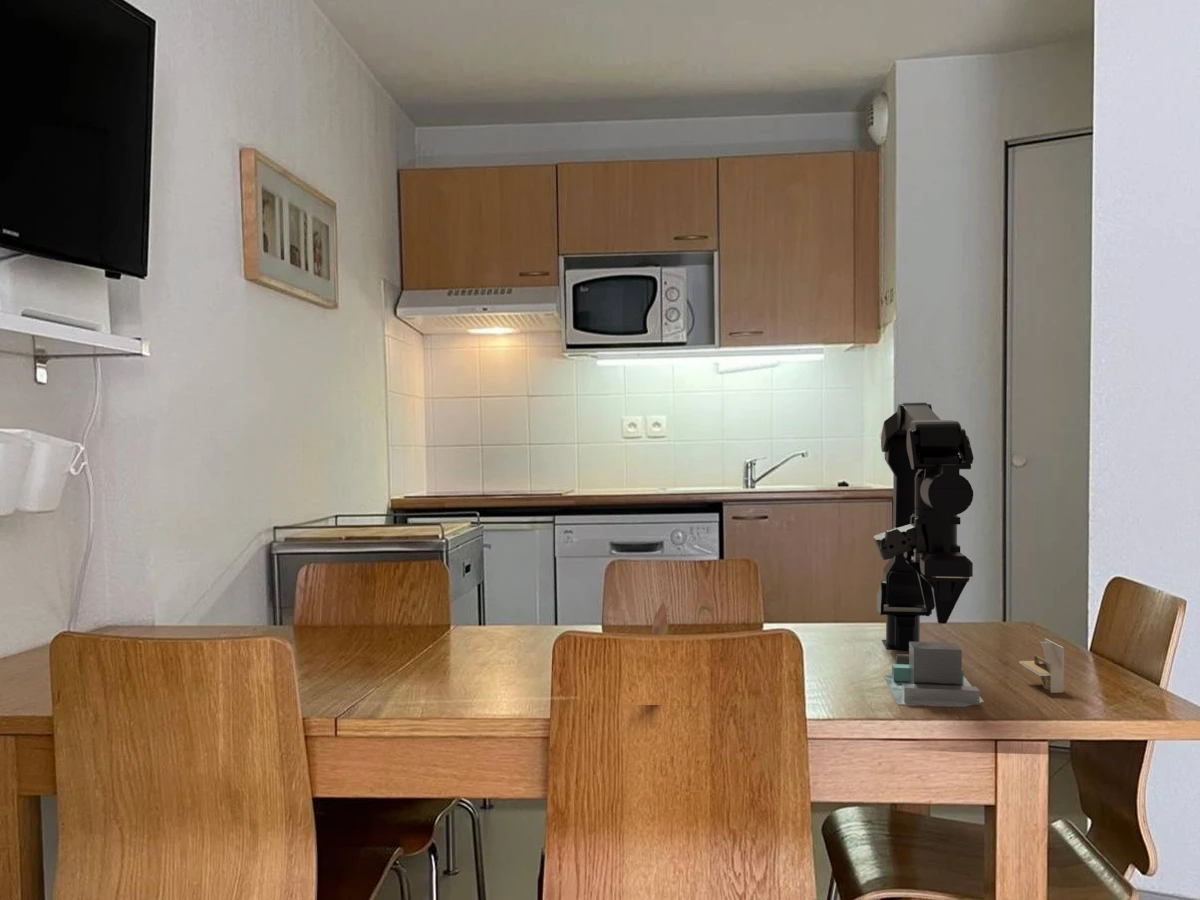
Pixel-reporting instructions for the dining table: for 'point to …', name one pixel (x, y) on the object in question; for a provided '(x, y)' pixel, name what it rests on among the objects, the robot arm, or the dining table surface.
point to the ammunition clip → (660, 621)
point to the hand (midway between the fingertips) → (935, 616)
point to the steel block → (935, 663)
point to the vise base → (933, 693)
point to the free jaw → (903, 668)
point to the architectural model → (1049, 666)
